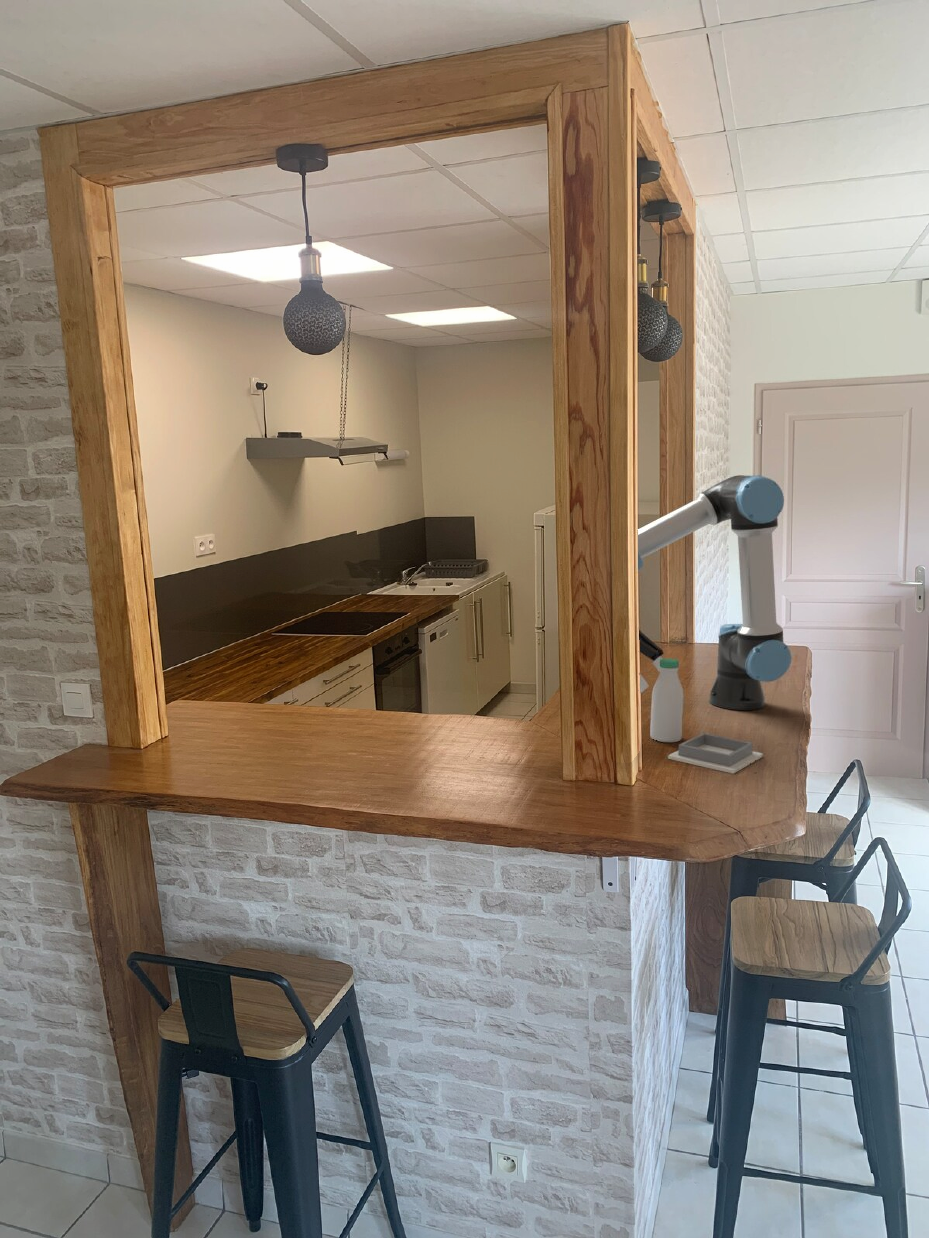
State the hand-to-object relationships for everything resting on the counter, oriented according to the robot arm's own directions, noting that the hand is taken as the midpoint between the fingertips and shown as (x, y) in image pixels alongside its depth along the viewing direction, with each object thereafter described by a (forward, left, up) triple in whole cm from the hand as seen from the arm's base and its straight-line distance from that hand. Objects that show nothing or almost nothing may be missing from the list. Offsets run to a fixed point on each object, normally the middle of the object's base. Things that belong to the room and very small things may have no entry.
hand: (658, 684), depth 230 cm
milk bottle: (-1, +2, -14) cm, 14 cm away
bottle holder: (+5, +18, -14) cm, 23 cm away
